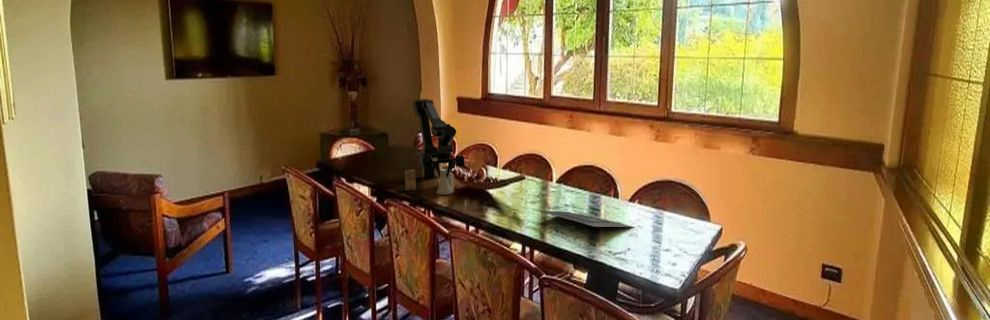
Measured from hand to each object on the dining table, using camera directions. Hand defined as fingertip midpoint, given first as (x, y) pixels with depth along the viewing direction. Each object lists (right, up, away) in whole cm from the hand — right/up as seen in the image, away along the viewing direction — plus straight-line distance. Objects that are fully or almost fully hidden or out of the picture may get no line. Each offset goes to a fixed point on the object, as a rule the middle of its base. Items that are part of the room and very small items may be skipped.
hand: (443, 177), depth 276 cm
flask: (0, -7, +3) cm, 8 cm away
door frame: (-8, -5, +14) cm, 17 cm away
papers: (+56, -17, -41) cm, 72 cm away
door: (0, -5, +11) cm, 12 cm away
